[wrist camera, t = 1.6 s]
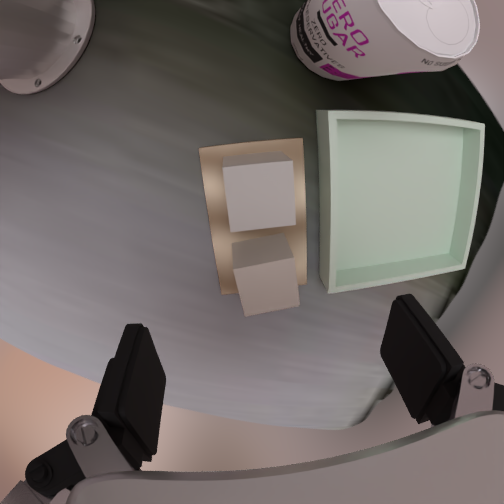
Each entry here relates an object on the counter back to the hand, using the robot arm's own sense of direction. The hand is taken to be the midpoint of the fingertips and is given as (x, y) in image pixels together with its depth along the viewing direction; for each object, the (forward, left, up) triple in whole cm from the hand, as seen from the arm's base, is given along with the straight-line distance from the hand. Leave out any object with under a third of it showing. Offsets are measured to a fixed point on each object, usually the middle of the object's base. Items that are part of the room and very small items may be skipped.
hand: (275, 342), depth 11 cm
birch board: (+3, +1, -19) cm, 19 cm away
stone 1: (-1, +1, -18) cm, 18 cm away
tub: (+1, +16, -19) cm, 25 cm away
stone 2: (+7, +1, -18) cm, 19 cm away
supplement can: (-14, +9, -19) cm, 25 cm away
